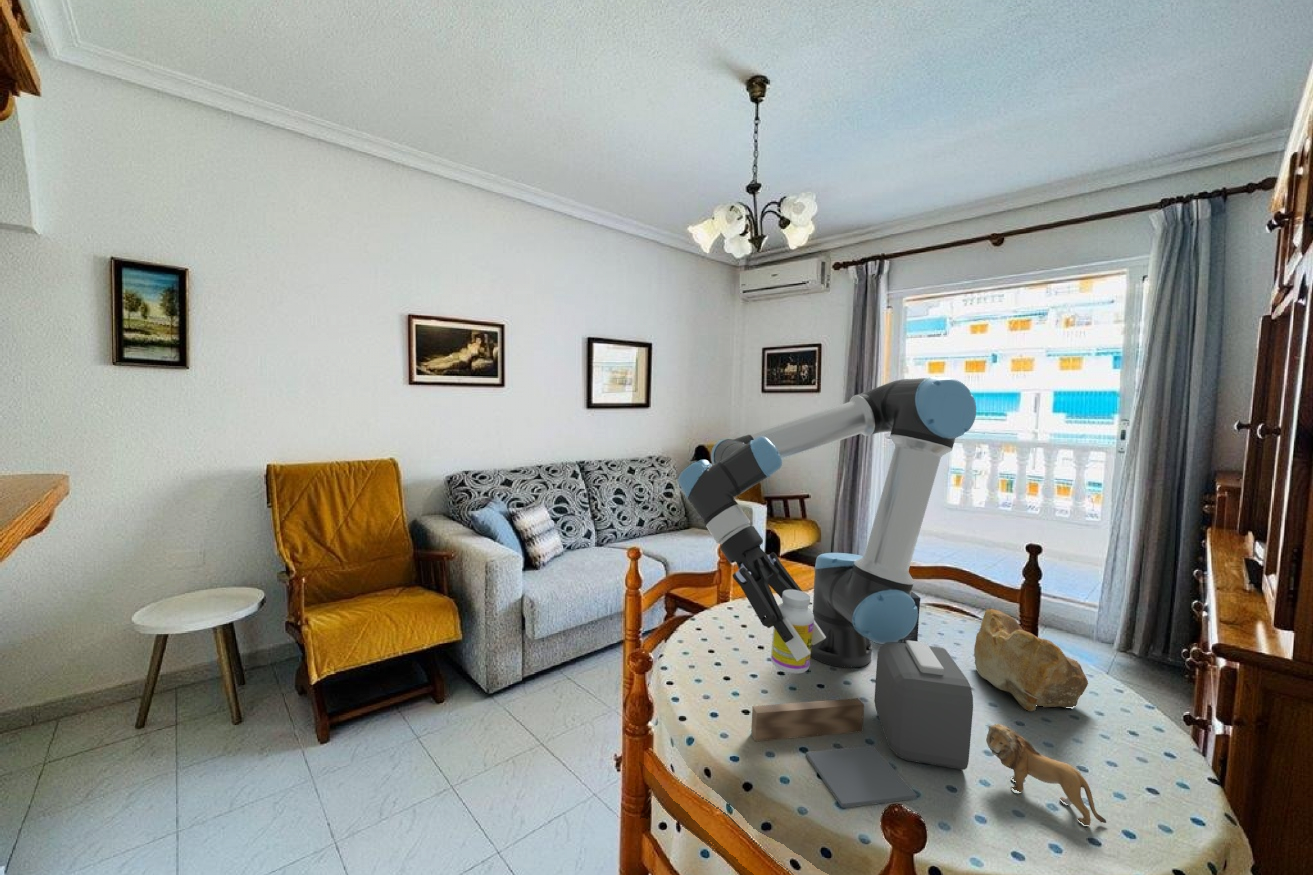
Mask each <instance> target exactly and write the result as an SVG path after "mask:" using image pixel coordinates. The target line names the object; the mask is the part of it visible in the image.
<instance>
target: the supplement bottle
mask: <svg viewBox="0 0 1313 875" xmlns="http://www.w3.org/2000/svg"><path fill="white" fill-rule="evenodd" d="M802 591H803V590H802ZM802 591H799V590H785V591H783V593H782V598H781V601H782V603H779V605H778V607H779V609H780V611H781V613H782V615H783V619H785V618H788V619H789V621H790V622H791V624H792V625H793V627H794V628H795V630H796V631H797V633H798V634H799V636H800V637H801V639H802V640H803V642H804V643H805V645H806V646H807V648H808V649H809V651H810V652H811V644H812V634H813V624H814V615H813V610H811V609H810V608H809V605H810V604H811V603H810V602H811V596H810V595H809V594H808V593H807V592H805V591H803V592H802ZM770 652H771V653H770V661H771V663H772V665H773V666H774V667H775V668H777V669H778V670H780V671H782V672H785V673H788V674H798V675H799V674H804V673H805V672H807V671H808V669H809V668H810V664H811V663H810V662H811V656H810V655H811V653H810V654H809V655H808V656H806V657H804V658H802V659H800V660H799V661H796V659H795V657H794V656H793V654H792V653H791V651H790V650H789V648H788V647H787V645H786V644H785V642H784V641H783V640H782V638H781V637H780V635H779V634H778V632H777V631H776V629H775V628H774V627H773V631H772V641H771V650H770Z"/></svg>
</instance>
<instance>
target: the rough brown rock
mask: <svg viewBox="0 0 1313 875" xmlns="http://www.w3.org/2000/svg"><path fill="white" fill-rule="evenodd" d="M973 649H974V650H973V656H974V665H975V669H976V671H977V674H978V675H979V676H980V677H981V678H982V679H984V680H987V681H988V682H989V683H990V684H992V685H993V687H994V688H996V689H998V690H1001V691H1004V692H1007V693H1009V694H1011V695H1012V696H1013V698H1014V699H1015V700H1016V701H1017V703H1018V704H1019V706H1021V707H1022V708H1023V709H1024V710H1025V709H1026V710H1028V711H1027V712H1034V711H1036V710H1037V709H1036V708H1037V707H1038V706H1043V707H1042V708H1051V707H1054V708H1055V707H1062V708H1064V707H1065V708H1064V709H1066V707H1073V706H1076V705H1077V706H1078V701H1079V699H1080V697H1081V696H1082V695H1083V694H1084V692H1085V690H1086V689H1087V687H1088V686H1089V681H1088V678H1087V677H1086V674H1085V672H1084V671H1083V668H1082V665H1081V664H1080V663H1079V662H1078V660H1075V659H1073V658H1070V657H1068V656H1066V655H1065V654H1064V652H1063V651H1062V649H1061V647H1059V646H1058V645H1056V644H1055V643H1054V642H1052V641H1051V640H1049V639H1046V638H1041V637H1038V636H1036V635H1035V634H1033V633H1031V632H1029V631H1026V630H1024V629H1023V628H1022V626H1021V625H1020V624H1019V623H1018V622H1017V621H1016V619H1015V618H1014V617H1012V616H1011V615H1008V614H1007V613H1004V612H1002V611H1001V610H997V609H994V608H988V609H985V612H984V614H983V617H982V620H981V624H980V629H979V631H978V632H977V633H976V637H975V644H974V648H973ZM1036 705H1037V706H1036ZM1077 706H1076V707H1077ZM1026 710H1025V711H1026ZM1033 710H1034V711H1033Z"/></svg>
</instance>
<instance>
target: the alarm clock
mask: <svg viewBox="0 0 1313 875" xmlns="http://www.w3.org/2000/svg"><path fill="white" fill-rule="evenodd" d="M875 670H876V671H875V672H876V673H875V684H874V685H875V686H874V697H873V698H874V700H873V702H874V706H875V709H876V713H877V716H878V718H879V721H880V724H881V728H882V731H883V733H884V735H885V739H886V742H887V745H888V746H889V748H890V750H891V751H893V753H895V755H896V756H897V757H898V758H900V759H903V760H905V761H909V762H915V763H921V764H927V765H933V766H937V767H944V768H945V767H946V768H951V769H956V770H963V771H964V770H966V769H968V766H969V761H970V750H971V748H970V747H971V738H972V727H973V724H972V723H973V711H974V696H973V691H972V687H971V684H970V682H969V680H968V679H967V677H966V675H965V674H964V673H963V671H962V670H961V669H960V667H959V666H958V664H957V663H956V662H955V660H954V659H953V657H952V656H951V654H949V652H948V650H947V649H946V648H944V647H941V646H931V645H928V643H927V642H926V641H925V642H924V641H910V640H907V641H906V643H900V642H886V643H884V644H881V646H879V648H878V652H877V656H876V669H875Z"/></svg>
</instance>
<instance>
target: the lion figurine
mask: <svg viewBox="0 0 1313 875" xmlns="http://www.w3.org/2000/svg"><path fill="white" fill-rule="evenodd" d="M985 742H986V744H987V746H988V748H989V750H990V751H991V754H992V755H994V756H996V757H997V758H998V759H999V761H1000V762H1001V765H1002V766H1004V767H1006V768H1009V769H1010V770H1013V774H1014V776H1012V777H1013V778H1012V779H1014V781H1016V783H1015V785H1013V786H1014V787H1012V786H1011V787H1012V788H1013V789H1014V790H1017V791H1019V792H1022V793H1023V791H1024V783H1025V780H1026V779H1027V777H1028V775H1029V776H1030V777H1032V778H1034V779H1037V780H1038V781H1040V782H1041V783H1042V782H1043V783H1046V784H1049V785H1050V784H1053V785H1055V784H1056V785H1059V786H1060V787H1061V789H1062V791H1063V792H1064V794H1065V796H1066V797H1067V798H1066V797H1062V796H1061V797H1059V799H1061V800H1062V801H1063V802H1065V803H1066V804H1068V806H1071V805H1073V806H1074V807H1075V808H1076V809H1077V810H1078V811H1079V813H1080V814H1081V815H1082V816H1083V817H1078V818H1077V819H1078V820H1079V821H1080V822H1082V823H1083V824H1084V825H1089V826H1091V823H1092V822H1091V813H1090V811H1091V812H1092V814H1093V816H1094V818H1095V819H1096V820H1097V821H1099V822H1100V823H1103V824H1107V820H1106V819H1105V818H1104V817H1102V815H1100V814H1098V812H1097V810H1096V807H1095V803H1094V800H1093V799H1094V798H1093V794H1092V791H1091V787H1090V786H1089V784H1088V781H1087V779H1085V777H1084V776H1083V775H1082V774H1081V772H1080V771H1079V770H1078V769H1076V768H1075V767H1074V766H1073V765H1071V764H1069V763H1066V762H1063V761H1059V760H1055V759H1052V758H1050V757H1047V756H1045V755H1043V754H1041V753H1040V752H1038V751H1037V750H1036V749H1035V748H1034V746H1033V745H1032V744H1031V742H1030V741H1028V740H1027V739H1025V738H1024V737H1023V736H1020V735H1019V733H1018V732H1017V731H1015V730H1013V729H1011V728H1010V727H1009V726H1005V725H1004V724H1000V723H996V724H994V725H992V726H991V725H989V726H988V732H987V735H986V740H985ZM1082 789H1084V792H1085V795H1086V799H1087V801H1088V805H1089V808H1090V810H1089V808H1088V807H1087V806H1086V804H1085V802H1084V801H1083V798H1082V795H1081V794H1082V792H1081V791H1082ZM1078 820H1077V821H1078Z"/></svg>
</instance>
